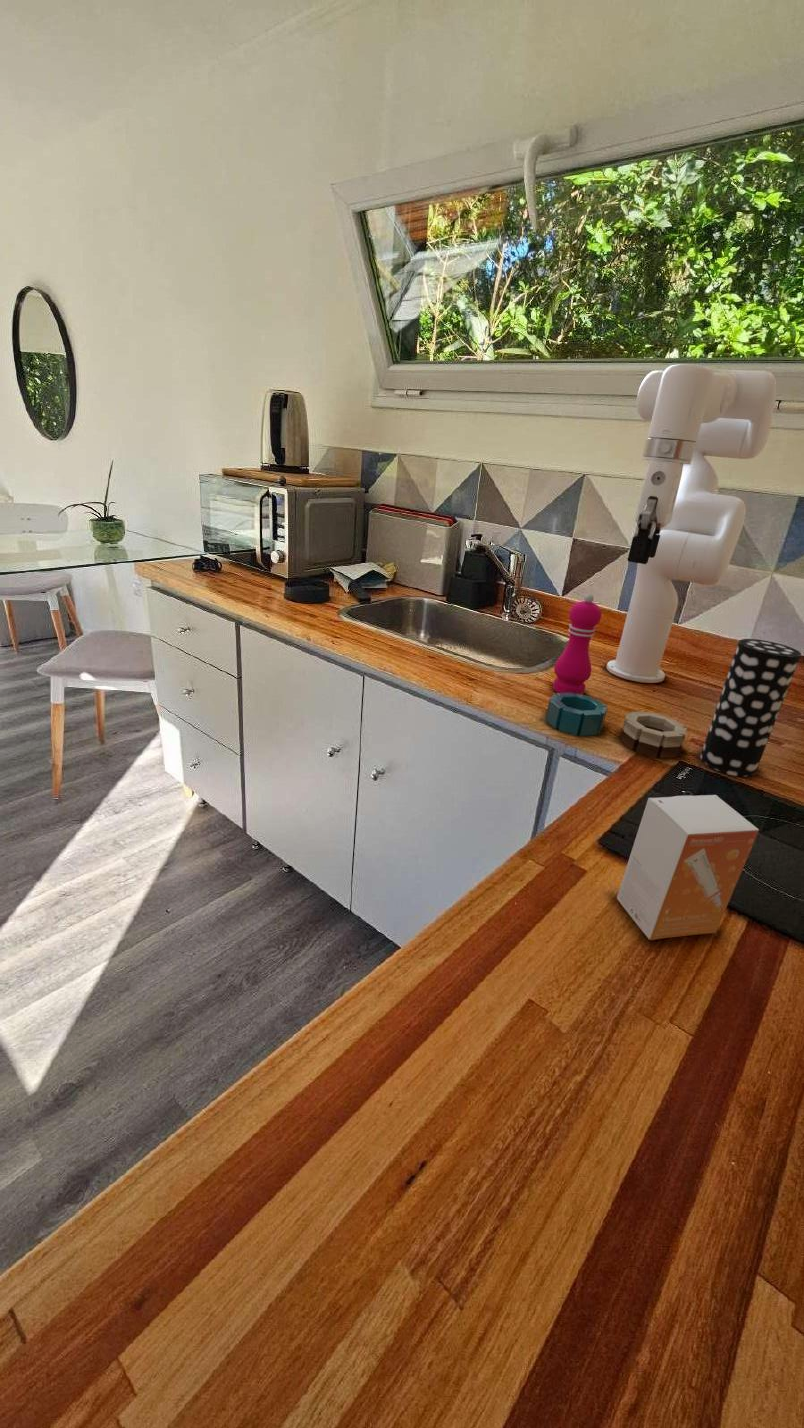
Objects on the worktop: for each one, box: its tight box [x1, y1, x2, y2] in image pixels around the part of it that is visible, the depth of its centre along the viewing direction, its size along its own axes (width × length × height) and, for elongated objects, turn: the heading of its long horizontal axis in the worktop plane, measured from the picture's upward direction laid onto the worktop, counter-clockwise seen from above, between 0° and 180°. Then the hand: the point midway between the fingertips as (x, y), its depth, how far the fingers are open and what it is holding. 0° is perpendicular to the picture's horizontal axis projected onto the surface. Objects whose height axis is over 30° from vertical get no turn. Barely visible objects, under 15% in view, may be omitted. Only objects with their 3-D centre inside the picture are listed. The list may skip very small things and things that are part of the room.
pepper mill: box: [552, 593, 602, 695], centre depth 118 cm, size 7×7×20 cm
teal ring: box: [545, 692, 608, 737], centre depth 106 cm, size 10×10×4 cm
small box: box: [616, 794, 760, 941], centre depth 60 cm, size 8×6×13 cm
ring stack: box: [619, 710, 688, 759], centre depth 101 cm, size 10×10×4 cm
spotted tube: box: [700, 638, 802, 778], centre depth 93 cm, size 8×8×20 cm
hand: (641, 559), depth 104 cm, fingers open, 9 cm apart
